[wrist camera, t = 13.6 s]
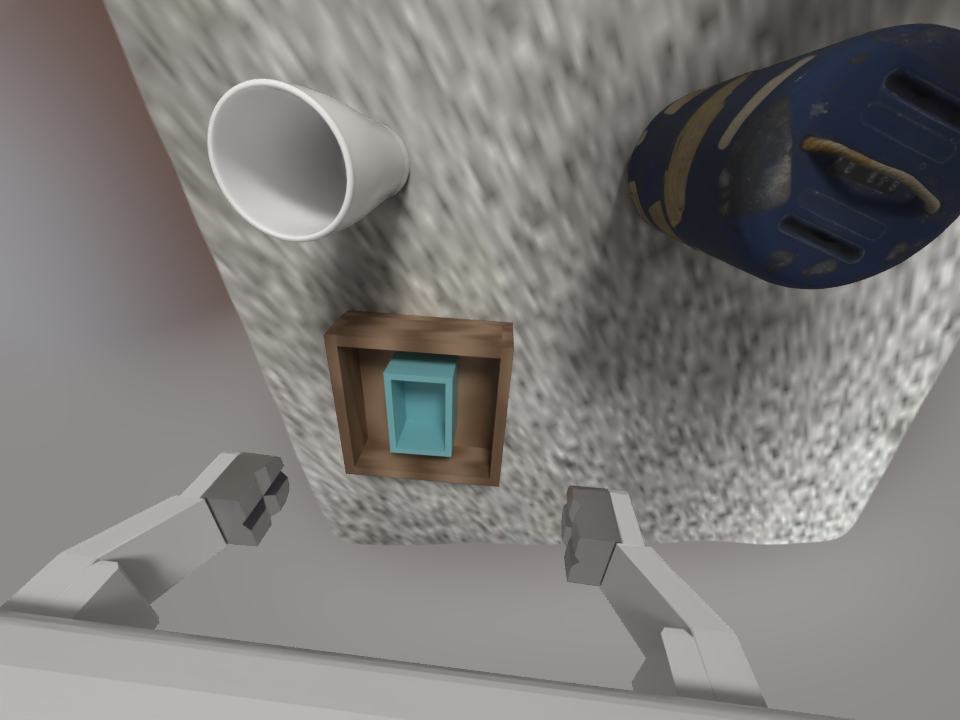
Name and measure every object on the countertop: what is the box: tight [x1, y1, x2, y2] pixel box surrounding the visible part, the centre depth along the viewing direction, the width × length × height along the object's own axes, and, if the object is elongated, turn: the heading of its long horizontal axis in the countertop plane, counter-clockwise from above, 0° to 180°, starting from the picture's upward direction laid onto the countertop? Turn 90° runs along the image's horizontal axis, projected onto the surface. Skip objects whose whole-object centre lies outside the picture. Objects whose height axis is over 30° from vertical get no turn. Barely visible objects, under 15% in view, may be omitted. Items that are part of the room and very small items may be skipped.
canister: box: [628, 24, 960, 289], centre depth 21 cm, size 10×10×18 cm
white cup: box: [207, 79, 409, 242], centre depth 24 cm, size 7×7×15 cm
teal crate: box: [383, 351, 459, 457], centre depth 37 cm, size 6×9×5 cm, turn 177°
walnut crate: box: [324, 311, 514, 487], centre depth 38 cm, size 16×16×6 cm
